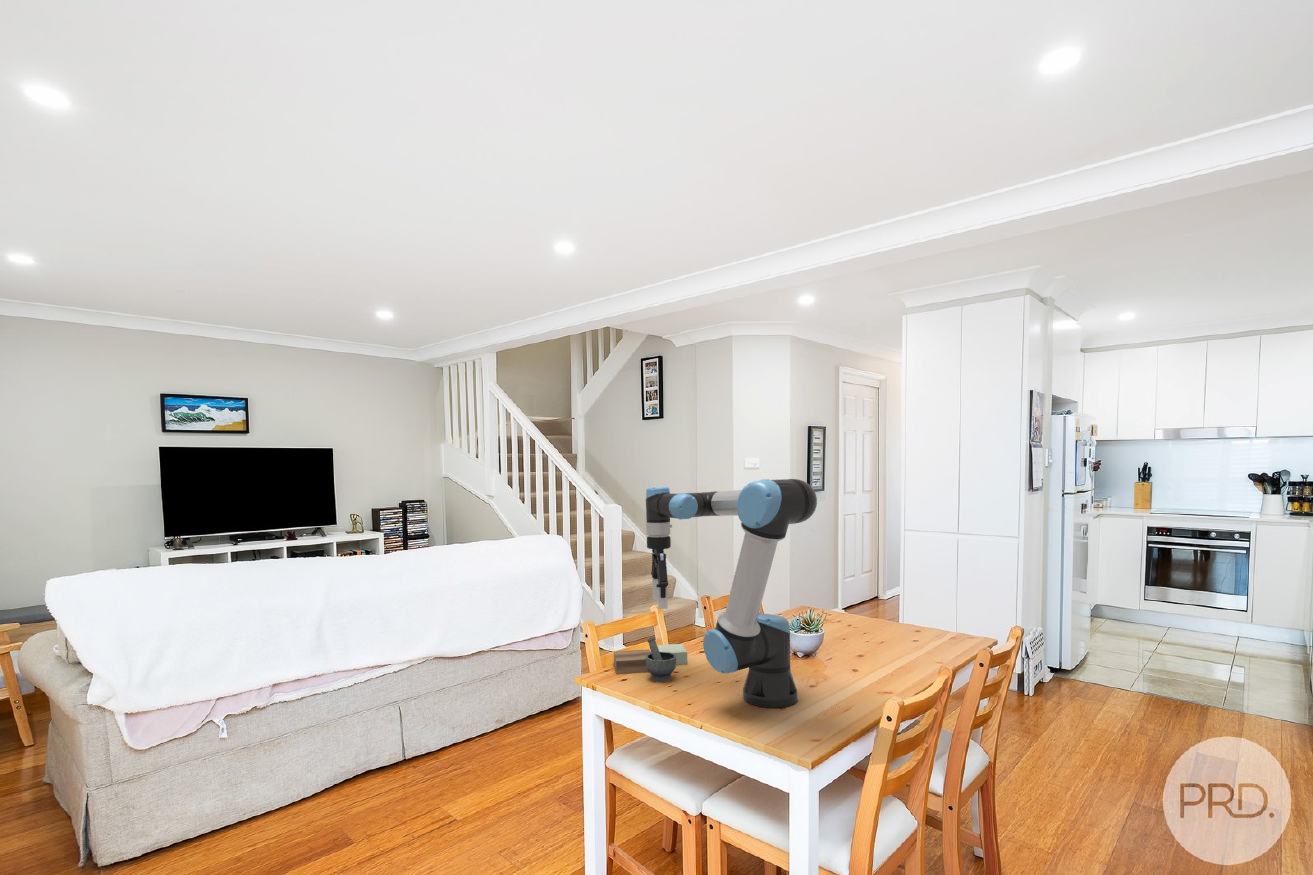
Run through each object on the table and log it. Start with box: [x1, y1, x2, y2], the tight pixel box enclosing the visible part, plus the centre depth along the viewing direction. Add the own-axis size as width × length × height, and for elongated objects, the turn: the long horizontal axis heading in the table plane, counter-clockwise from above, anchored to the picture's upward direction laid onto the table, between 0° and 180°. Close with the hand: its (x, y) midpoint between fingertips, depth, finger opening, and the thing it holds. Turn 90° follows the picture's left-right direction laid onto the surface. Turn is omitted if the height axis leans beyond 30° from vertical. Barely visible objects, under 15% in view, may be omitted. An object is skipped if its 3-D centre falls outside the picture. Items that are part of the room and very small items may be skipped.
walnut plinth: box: [613, 649, 651, 675], centre depth 211 cm, size 11×12×4 cm
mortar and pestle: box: [646, 636, 677, 683], centre depth 200 cm, size 11×9×12 cm
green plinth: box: [657, 643, 688, 666], centre depth 218 cm, size 10×10×4 cm
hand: (659, 603), depth 202 cm, fingers open, 13 cm apart
